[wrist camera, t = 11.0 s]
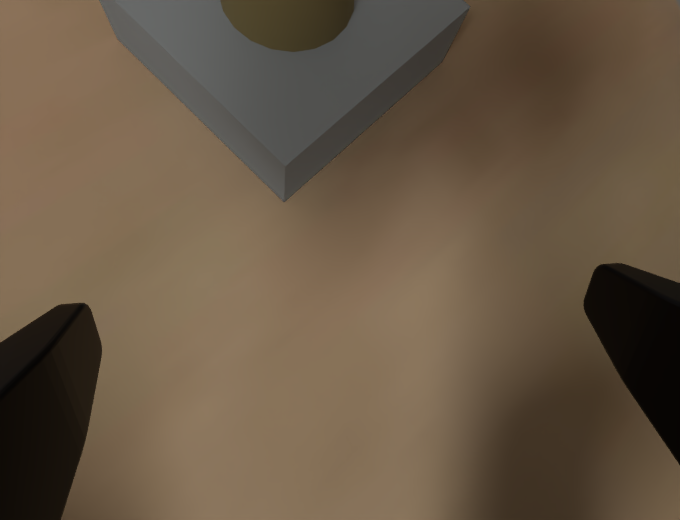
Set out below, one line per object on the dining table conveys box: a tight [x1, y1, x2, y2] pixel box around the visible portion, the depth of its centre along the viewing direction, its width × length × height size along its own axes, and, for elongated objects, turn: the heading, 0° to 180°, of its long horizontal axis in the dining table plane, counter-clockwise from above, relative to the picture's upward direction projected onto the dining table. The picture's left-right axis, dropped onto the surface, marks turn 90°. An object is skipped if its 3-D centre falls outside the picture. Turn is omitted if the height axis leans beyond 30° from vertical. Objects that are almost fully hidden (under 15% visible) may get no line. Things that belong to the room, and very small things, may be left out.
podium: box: [99, 0, 470, 202], centre depth 23 cm, size 12×12×4 cm
